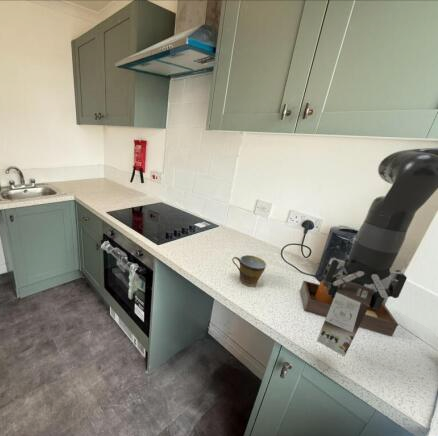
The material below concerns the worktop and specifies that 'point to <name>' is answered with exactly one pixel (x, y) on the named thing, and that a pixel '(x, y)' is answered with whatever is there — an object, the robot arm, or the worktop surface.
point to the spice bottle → (323, 293)
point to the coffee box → (345, 316)
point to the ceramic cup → (250, 269)
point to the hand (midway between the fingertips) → (351, 301)
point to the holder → (372, 320)
